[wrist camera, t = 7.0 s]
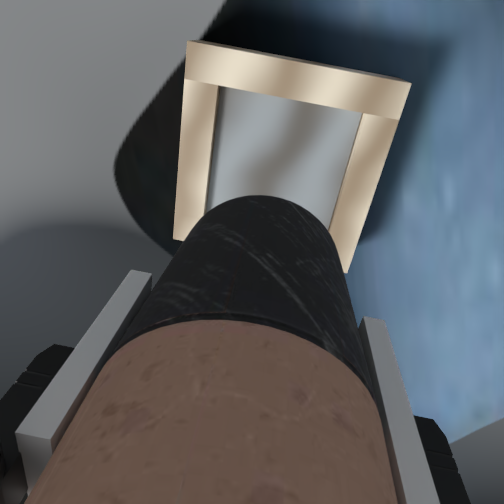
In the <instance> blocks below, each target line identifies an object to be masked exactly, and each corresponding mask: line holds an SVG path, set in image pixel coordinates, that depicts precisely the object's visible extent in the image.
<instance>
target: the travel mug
mask: <svg viewBox="0 0 504 504" xmlns="http://www.w3.org/2000/svg"><path fill="white" fill-rule="evenodd" d="M24 504H398V502H397V497H396V492H395V487H394V482H393V477H392V472H391V468H390V463H389V458H388V453H387V448H386V443H385V438H384V433H383V428H382V423H381V419H380V416H379V413H378V406H377V402H376V398H375V394H374V390H373V386H372V382H371V379H370V375H369V371H368V367H367V363H366V359H365V355H364V351H363V347H362V343H361V339H360V335H359V331H358V327H357V323H356V319H355V315H354V311H353V307H352V304H351V300H350V296H349V292H348V288H347V284H346V280H345V276H344V272H343V268H342V265H341V261H340V258H339V254H338V251H337V248H336V245H335V243H334V241H333V239H332V236H331V235H330V233H329V232H328V230H327V229H326V227H325V226H324V225H323V224H322V223H321V221H320V220H319V219H318V218H316V217H315V216H314V215H313V214H312V213H311V212H309V211H308V210H306V209H305V208H303V207H302V206H300V205H298V204H296V203H294V202H291V201H289V200H286V199H283V198H279V197H274V196H267V195H248V196H242V197H237V198H234V199H231V200H228V201H226V202H223V203H221V204H219V205H217V206H216V207H214V208H212V209H211V210H209V211H208V212H207V213H206V214H205V215H204V216H202V217H201V218H200V220H199V221H198V222H197V223H196V224H195V226H194V227H193V228H192V230H191V231H190V232H189V234H188V235H187V237H186V238H185V240H184V241H183V243H182V245H181V246H180V248H179V249H178V251H177V252H176V254H175V255H174V257H173V259H172V260H171V262H170V263H169V265H168V266H167V268H166V270H165V271H164V273H163V274H162V276H161V277H160V279H159V281H158V282H157V284H156V285H155V287H154V288H153V290H152V291H151V293H150V294H149V296H148V297H147V299H146V301H145V302H144V304H143V305H142V307H141V308H140V310H139V312H138V313H137V315H136V316H135V318H134V319H133V321H132V322H131V324H130V326H129V327H128V329H127V330H126V332H125V333H124V335H123V336H122V338H121V340H120V341H119V343H118V344H117V346H116V347H115V349H114V350H113V352H112V354H111V355H110V357H109V359H108V360H107V362H106V363H105V365H104V366H103V368H102V370H101V371H100V373H99V375H98V376H97V378H96V380H95V381H94V383H93V385H92V387H91V388H90V390H89V392H88V394H87V395H86V397H85V399H84V401H83V402H82V404H81V406H80V408H79V409H78V411H77V413H76V414H75V416H74V418H73V420H72V421H71V423H70V425H69V427H68V428H67V430H66V432H65V434H64V435H63V437H62V439H61V441H60V442H59V444H58V446H57V447H56V449H55V451H54V453H53V454H52V456H51V458H50V460H49V461H48V463H47V465H46V467H45V468H44V470H43V472H42V473H41V475H40V477H39V479H38V480H37V482H36V484H35V486H34V487H33V489H32V491H31V493H30V494H29V496H28V498H27V500H26V501H25V503H24Z"/></svg>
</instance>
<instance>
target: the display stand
mask: <svg viewBox="0 0 504 504" xmlns="http://www.w3.org/2000/svg"><path fill="white" fill-rule="evenodd" d="M411 84H412V83H409V82H407V81H405V80H403V79H400V78H397V77H391V76H386V75H381V74H376V73H370V72H365V71H360V70H355V69H349V68H344V67H339V66H334V65H328V64H323V63H318V62H313V61H307V60H302V59H297V58H292V57H286V56H281V55H276V54H271V53H265V52H260V51H255V50H250V49H244V48H239V47H234V46H229V45H223V44H218V43H213V42H208V41H202V40H192V41H187V52H186V66H185V80H184V94H183V108H182V122H181V135H180V149H179V163H178V177H177V191H176V205H175V219H174V233H173V239H176V240H181V241H184V240H185V238H186V237H187V235H188V234H189V232H190V231H191V230H192V228H193V227H194V226H195V224H196V223H197V222H198V221H199V220H200V218H201V217H202V216H204V215H205V214H206V213H207V212H208V211H209V210H211V209H212V208H214V207H216V206H217V205H219V204H221V203H223V202H226V201H228V200H231V199H234V198H237V197H242V196H248V195H267V196H274V197H279V198H283V199H286V200H289V201H291V202H294V203H296V204H298V205H300V206H302V207H303V208H305V209H306V210H308V211H309V212H311V213H312V214H313V215H314V216H315V217H316V218H318V219H319V220H320V221H321V223H322V224H323V225H324V226H325V227H326V229H327V230H328V232H329V233H330V235H331V236H332V239H333V241H334V243H335V245H336V248H337V251H338V254H339V258H340V261H341V265H342V268H343V272H344V273H347V272H348V269H349V266H350V263H351V260H352V257H353V254H354V251H355V248H356V246H357V243H358V240H359V237H360V234H361V231H362V228H363V225H364V222H365V219H366V216H367V213H368V210H369V207H370V204H371V202H372V199H373V196H374V193H375V190H376V187H377V184H378V181H379V178H380V175H381V172H382V169H383V166H384V163H385V160H386V158H387V155H388V152H389V149H390V146H391V143H392V140H393V137H394V134H395V131H396V128H397V125H398V122H399V119H400V116H401V113H402V111H403V108H404V105H405V102H406V99H407V96H408V93H409V90H410V87H411Z"/></svg>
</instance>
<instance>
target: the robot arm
mask: <svg viewBox="0 0 504 504" xmlns="http://www.w3.org/2000/svg"><path fill="white" fill-rule="evenodd" d="M151 282H152V274H150V273H145V272H140V271H135V270H131V271H130V272H129V274H128V275H127V276H126V278H125V279H124V280H123V282H122V284H121V285H120V286H119V287H118V289H117V290H116V292H115V293H114V294H113V296H112V297H111V299H110V300H109V302H108V303H107V304H106V306H105V307H104V308H103V310H102V311H101V313H100V314H99V316H98V317H97V318H96V320H95V321H94V322H93V324H92V325H91V327H90V328H89V329H88V331H87V332H86V334H85V335H84V336H83V338H82V339H81V341H80V342H79V343H78V345H77V346H76V348H72V347H67V346H62V345H57V344H54V345H52V346H51V347H49V348H47V349H46V350H44V351H43V352H41V353H40V354H38V355H37V356H36V357H35V358H34V360H33V361H32V362H31V363H30V365H29V366H28V367H27V368H26V369H25V372H23V373H22V374H21V375H20V377H19V378H18V379H17V380H16V383H15V384H13V385H12V387H11V388H10V389H9V390H8V391H7V393H6V394H5V395H4V396H3V398H2V399H1V400H0V504H19V503H20V502H21V500H22V498H23V497H24V495H25V493H26V492H27V493H28V496H29V494H30V493H31V491H32V489H33V487H34V486H35V484H36V482H37V480H38V479H39V477H40V475H41V473H42V472H43V470H44V468H45V467H46V465H47V463H48V461H49V460H50V458H51V456H52V454H53V453H54V451H55V449H56V447H57V446H58V444H59V442H60V441H61V439H62V437H63V435H64V434H65V432H66V430H67V428H68V427H69V425H70V423H71V421H72V420H73V418H74V416H75V414H76V413H77V411H78V409H79V408H80V406H81V404H82V402H83V401H84V399H85V397H86V395H87V394H88V392H89V390H90V388H91V387H92V385H93V383H94V381H95V380H96V378H97V376H98V375H99V373H100V371H101V370H102V368H103V366H104V365H105V363H106V362H107V360H108V359H109V357H110V355H111V354H112V352H113V350H114V349H115V347H116V346H117V344H118V343H119V341H120V340H121V338H122V336H123V335H124V333H125V332H126V330H127V329H128V327H129V326H130V324H131V322H132V321H133V319H134V318H135V316H136V315H137V313H138V312H139V310H140V308H141V307H142V305H143V304H144V302H145V301H146V299H147V297H148V296H149V294H150V293H151ZM358 331H359V335H360V339H361V343H362V347H363V351H364V355H365V359H366V363H367V367H368V371H369V375H370V379H371V382H372V386H373V390H374V394H375V398H376V402H377V406H378V413H379V416H380V419H381V423H382V428H383V433H384V438H385V443H386V448H387V453H388V458H389V463H390V468H391V472H392V477H393V482H394V487H395V492H396V497H397V502H398V504H471V503H470V500H469V498H468V495H467V493H466V490H465V487H464V484H463V482H462V479H461V476H460V474H458V468H457V466H456V463H455V460H454V458H452V455H453V454H452V452H451V449H450V447H449V444H448V441H447V438H446V436H445V435H444V433H443V432H442V431H441V429H440V428H439V427H438V425H437V424H436V423H435V421H434V420H433V419H428V418H424V417H419V416H414V415H413V413H412V410H411V406H410V403H409V400H408V396H407V393H406V390H405V386H404V383H403V380H402V377H401V373H400V370H399V367H398V363H397V360H396V357H395V354H394V350H393V347H392V344H391V340H390V337H389V334H388V330H387V327H386V324H385V321H384V320H380V319H375V318H370V317H365V316H363V318H362V321H361V323H360V326H359V328H358Z"/></svg>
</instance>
